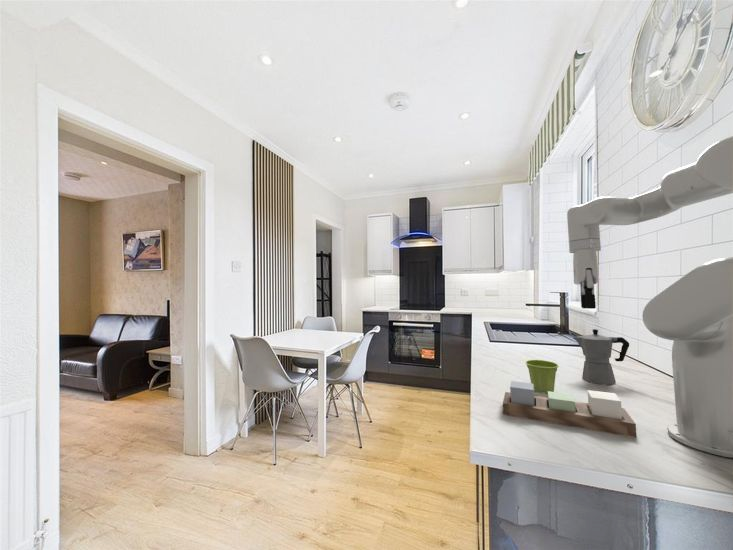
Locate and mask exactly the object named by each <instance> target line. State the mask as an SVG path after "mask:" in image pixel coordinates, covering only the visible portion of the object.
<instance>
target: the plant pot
mask: <svg viewBox="0 0 733 550" xmlns="http://www.w3.org/2000/svg"><path fill="white" fill-rule="evenodd" d="M524 362H525V364H526V367H527V369H528V374H529V378H530V379H529V380H530V383H532V384H533V385H534V391H536V392H537V393H542V394H543V393H544V394H548V391H550V392H555V383H556V375H557V371H558V368H559V367H560V366H559V364H558V363H556V362H553V361H549V360H545V359H544V360H543V359H528V360H526V361H524Z"/></svg>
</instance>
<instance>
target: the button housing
mask: <svg viewBox="0 0 733 550" xmlns="http://www.w3.org/2000/svg"><path fill="white" fill-rule="evenodd" d="M534 404H535V406H531V405H524V404H518V403H511V393H510V392H508V391H505V392H504V397H503V401H502V415H503V416H510V417H515V418H520V419H521V418H522V419H525V420H526V419H527V420H530V421H531V420H532V421H539V422H543V423H549V424H555V425H561V426H566V427H572V428H577V429H583V430H584V429H585V430H589V431H596V432H602V433H608V434H612V435H618V436H619V435H620V436H624V437H630V438H638V437H637V435H638V434H637V423H636V422H635V420H634V419H633V418H632V417H631V415H630V413H628V411H627V410H626V409H625V408H624V407H621V408H622V419H616V418H610V417H603V416H596V415H591V414H590V411H589V406H588V402H581V401H575V409H576V412H570V411H564V410H557V409H550V408H549V405H548V397H544V396H537V395H534Z"/></svg>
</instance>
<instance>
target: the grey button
mask: <svg viewBox="0 0 733 550" xmlns="http://www.w3.org/2000/svg"><path fill="white" fill-rule="evenodd" d="M510 381H511V382H510V385H509V388H510V389H509V391H510V392H509V393H511V403H518V404H524V405H531V406H535V404H534V396H535V390H534V385H533V384H532V383H531V382H521V381H516V380H510Z"/></svg>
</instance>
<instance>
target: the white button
mask: <svg viewBox="0 0 733 550" xmlns="http://www.w3.org/2000/svg"><path fill="white" fill-rule="evenodd" d="M587 403H588V406H589V411H590V414H591V415H596V416H603V417H610V418H616V419H622V408H623V407H622V401H621V399H620V398H619V397H618V395H617V394H616V392H615V393H613V392H605V391H600V390H599V391H597V390H590V389H587Z"/></svg>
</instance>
